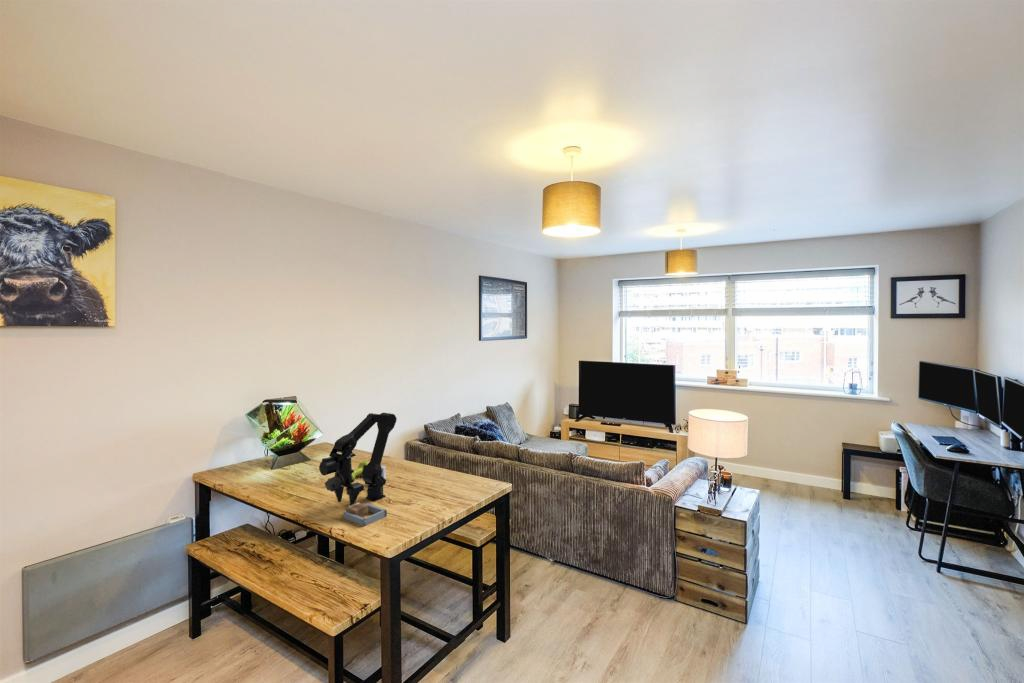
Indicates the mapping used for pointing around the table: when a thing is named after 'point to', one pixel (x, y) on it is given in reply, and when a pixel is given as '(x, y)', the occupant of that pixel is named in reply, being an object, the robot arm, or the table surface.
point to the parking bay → (365, 521)
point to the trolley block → (358, 509)
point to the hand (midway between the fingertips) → (345, 504)
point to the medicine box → (383, 471)
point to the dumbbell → (359, 469)
